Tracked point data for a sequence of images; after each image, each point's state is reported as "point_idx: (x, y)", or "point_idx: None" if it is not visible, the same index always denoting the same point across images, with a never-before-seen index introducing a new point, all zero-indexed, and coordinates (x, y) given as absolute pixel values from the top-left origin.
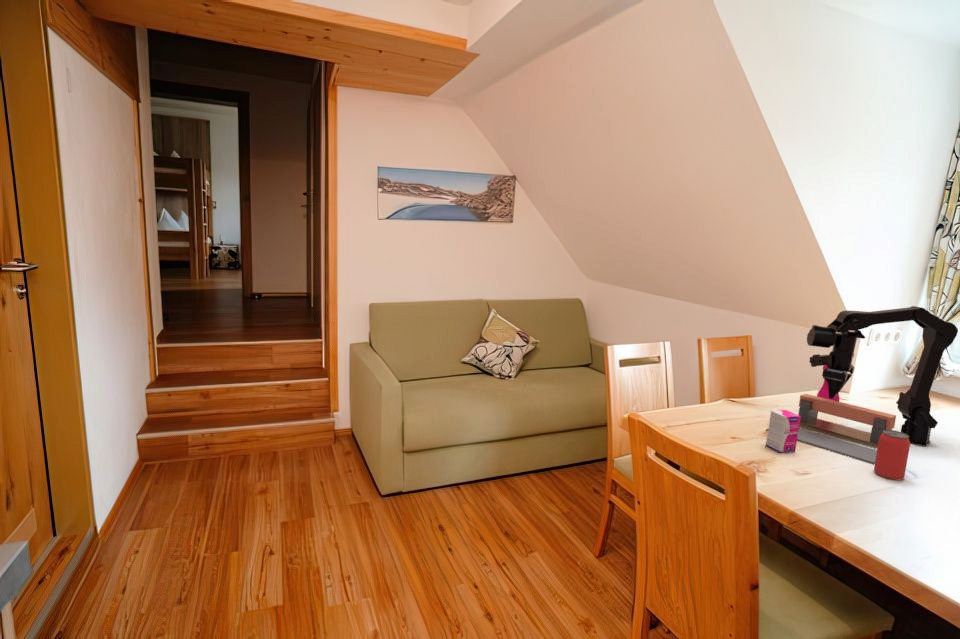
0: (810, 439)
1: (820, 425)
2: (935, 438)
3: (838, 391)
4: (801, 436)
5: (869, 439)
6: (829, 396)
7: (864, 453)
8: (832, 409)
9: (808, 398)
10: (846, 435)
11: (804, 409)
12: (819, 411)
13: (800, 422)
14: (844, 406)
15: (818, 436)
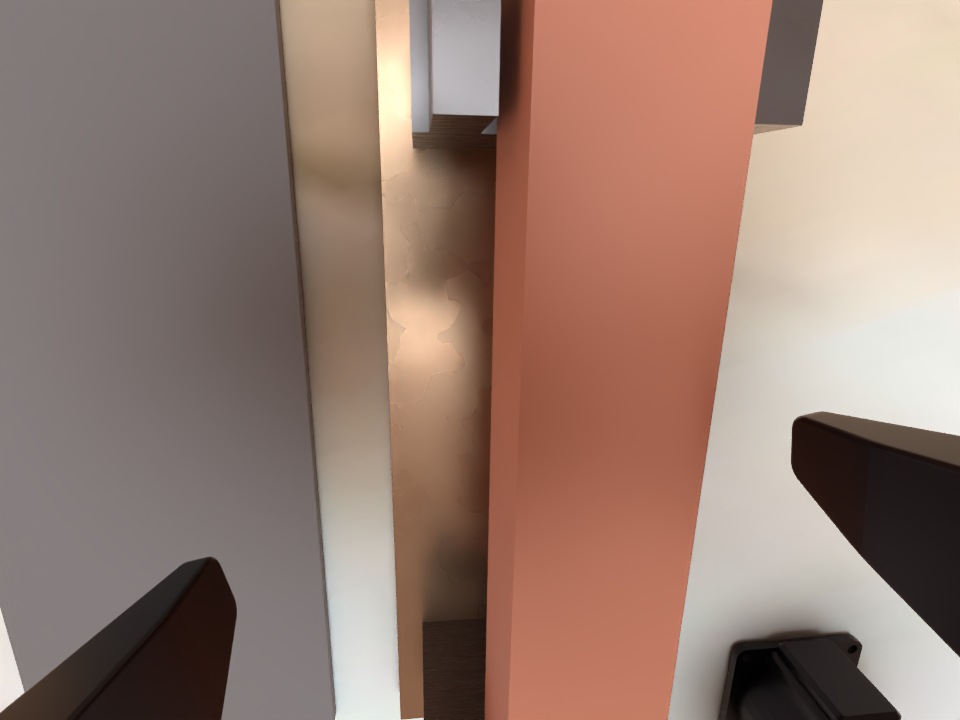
0: (34, 339)
1: (472, 258)
2: (944, 713)
3: (831, 510)
4: (23, 256)
5: (463, 607)
6: (167, 591)
7: None
8: (503, 405)
9: (527, 23)
10: (393, 492)
11: (414, 64)
12: (497, 240)
13: (379, 88)
14: (510, 577)
15: (201, 345)
